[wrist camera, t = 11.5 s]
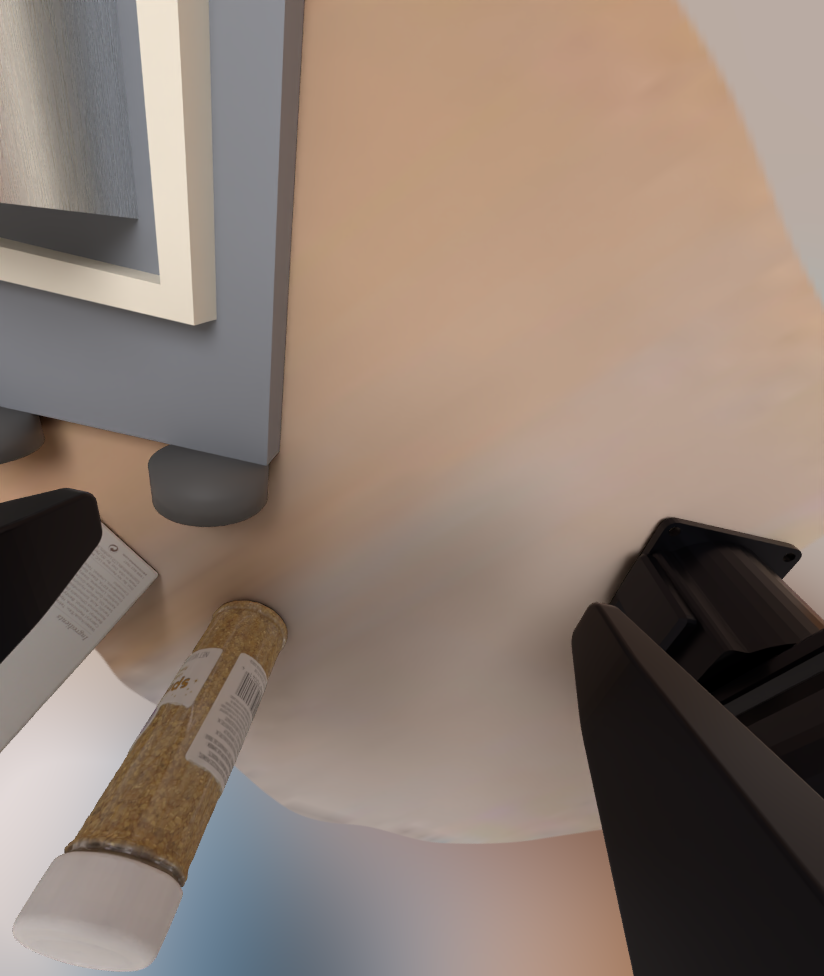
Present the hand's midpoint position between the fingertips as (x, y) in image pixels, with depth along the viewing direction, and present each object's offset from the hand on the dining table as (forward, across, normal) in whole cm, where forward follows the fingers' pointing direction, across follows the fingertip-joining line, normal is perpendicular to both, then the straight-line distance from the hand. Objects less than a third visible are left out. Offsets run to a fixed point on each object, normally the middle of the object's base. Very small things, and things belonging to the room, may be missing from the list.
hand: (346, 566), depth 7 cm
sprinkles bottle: (+11, +6, +16) cm, 20 cm away
